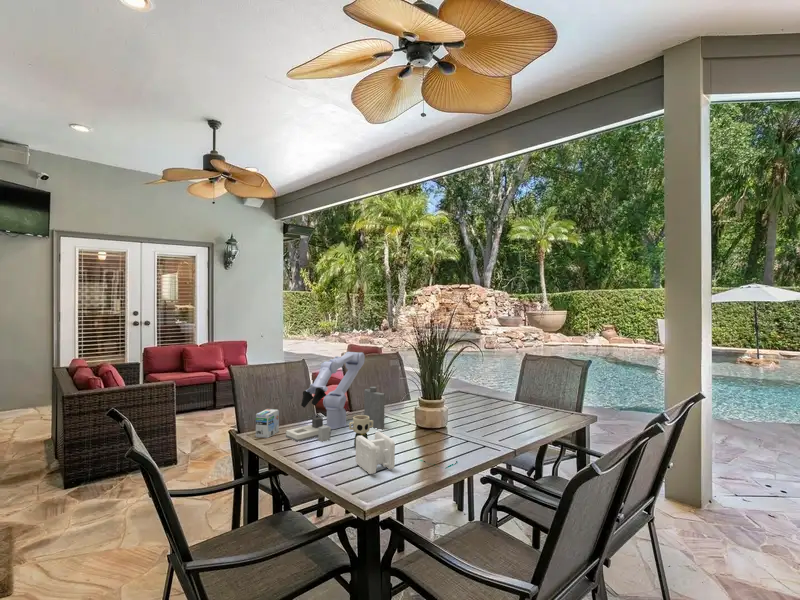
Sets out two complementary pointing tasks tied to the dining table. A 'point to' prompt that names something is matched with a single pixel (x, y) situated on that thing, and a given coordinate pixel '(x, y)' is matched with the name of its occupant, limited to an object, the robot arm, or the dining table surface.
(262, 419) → the light bulb box
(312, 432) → the power strip
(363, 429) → the character mug
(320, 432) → the plug
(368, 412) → the hip flask
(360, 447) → the cable organizer
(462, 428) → the dining table surface
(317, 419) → the twin plug
